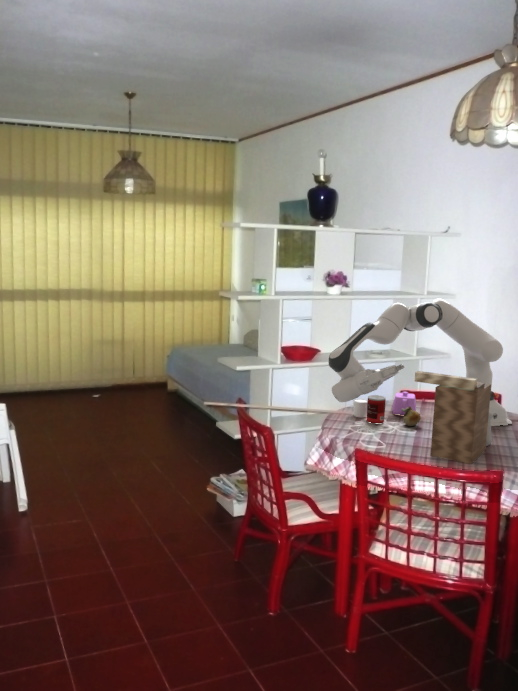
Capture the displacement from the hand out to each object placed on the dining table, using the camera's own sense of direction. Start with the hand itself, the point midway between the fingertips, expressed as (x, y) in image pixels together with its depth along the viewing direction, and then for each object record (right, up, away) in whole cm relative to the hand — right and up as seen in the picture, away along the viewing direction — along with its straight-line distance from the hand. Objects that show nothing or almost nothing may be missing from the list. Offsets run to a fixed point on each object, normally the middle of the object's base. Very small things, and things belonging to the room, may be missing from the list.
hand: (398, 367), depth 257 cm
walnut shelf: (+22, -32, -3) cm, 39 cm away
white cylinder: (-8, -23, +45) cm, 52 cm away
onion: (+12, -26, +32) cm, 43 cm away
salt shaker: (+35, -31, +9) cm, 48 cm away
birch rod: (+15, -6, -9) cm, 19 cm away
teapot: (+13, -23, +52) cm, 59 cm away
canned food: (-3, -25, +36) cm, 44 cm away
